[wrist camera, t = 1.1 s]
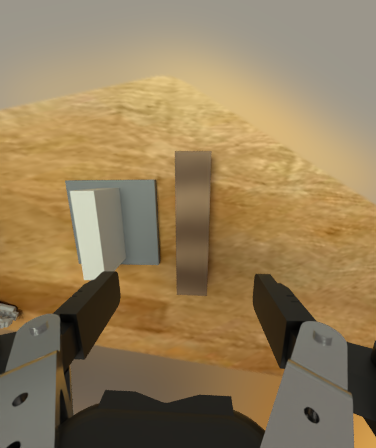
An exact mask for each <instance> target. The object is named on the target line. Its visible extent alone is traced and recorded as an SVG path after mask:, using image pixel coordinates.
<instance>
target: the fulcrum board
mask: <svg viewBox="0 0 376 448" xmlns="http://www.w3.org/2000/svg"><path fill="white" fill-rule="evenodd" d="M65 183H66V189H67V195H68V201H69V207H70V213H71V218H72V224H73V230H74V236H75V242H76V248H77V254H78V260H79V264H82V269H83V275H84V280H94V279H95V278H96V277H97V276H98V275H100V274H101V273H102V272H103V271H115V270H116V269H117V267H118V266H119V265H120V264H134V265H159V263H160V248H159V228H158V209H157V189H156V180H82V181H65Z"/></svg>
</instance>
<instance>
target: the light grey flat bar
mask: <svg viewBox="0 0 376 448" xmlns="http://www.w3.org/2000/svg"><path fill="white" fill-rule="evenodd" d="M16 309H17V308H16V307H14V306H10V305H5V304H1V303H0V328H3V327H8V326H9V325H11V324H12V320H16V319H17V317H18V313H19V312H16ZM1 316H2V317H1Z"/></svg>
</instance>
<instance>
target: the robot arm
mask: <svg viewBox="0 0 376 448" xmlns="http://www.w3.org/2000/svg"><path fill="white" fill-rule="evenodd" d="M119 303H120V286H119V277H118V273H117V272H116V271H103V272H102V273H101V274H100V275H98V276H97V277H96V278H95V279H94V280H91V281H90V282H88V283H86V284H84V285H83V286H82V287H81V288H80V289H79V290H78V292H76V293H74V294H73V295H72V297H70V298H69V299H68V300H67V301H66V302H65V303H64V304H63V305H62V306H61V307H59V308H58V309H57V310H56V311H55V312H54V313H53V314H46V315H42V316H39V317H36V318H34V319H32V320H30V321H29V322H27V323H26V324H24V325H23V326H22V327H21V328H20V329H19V330H18V331H17V332H13V333H8V334H3V335H0V448H354V432H353V413H354V414H357V415H359V416H362V417H363V418H364V419H365V421H366V422H367V424H368V425H369V427H370V428H371V430H372V431H373V433H374V434H375V436H376V341H375V343H374V346H373V349H371V348H368V347H364V346H360V345H356V344H352V343H349V342H346V340H345V339H344V337H343V336H342V335H341V334H340V333H339V332H337V331H336V330H335V329H333V328H331V327H330V326H328V325H325V324H323V323H320V322H317V321H316V320H315V319H314V318H313V317H312V315H311V314H310V313H309V312H308V311H307V309H306V308H305V307H304V306H303V305H302V303H300V301H299V300H298V299H297V298H296V297H295V295H294V294H293V293H292V292H291V290H290V289H289V288H287V287H286V286H284V285H283V284H281V283H277V282H276V281H275V280H274V278H273V277H272V276H271V275H270V274H255V278H254V289H253V306H254V310H255V312H256V315H257V317H258V319H259V321H260V324H261V326H262V328H263V331H264V333H265V335H266V338H267V340H268V342H269V344H270V347H271V349H272V351H273V354H274V356H275V358H276V360H277V363H278V365H279V367H280V368H282V369H285V371H284V374H283V377H282V381H281V384H280V387H279V390H278V393H277V396H276V399H275V402H274V406H273V409H272V412H271V415H270V418H269V421H268V424H267V427H266V431H265V430H264V429H263V428H261V427H260V426H259V425H258V424H257V423H256V422H254V421H253V420H251V419H250V418H248V417H247V416H245V415H243V414H242V413H240V412H237V411H235V410H233V406H232V400H231V396H212V395H197V396H193V397H189V398H185V399H181V400H177V401H173V402H170V403H163V402H160V401H158V400H155V399H153V398H150V397H148V396H145V395H143V394H140V393H137V392H132V391H112V390H105V392H104V394H103V396H102V399H101V401H100V403H99V404H95V405H93V406H90V407H88V408H86V409H84V410H82V411H80V412H78V413H77V414H75V415H73V399H72V382H71V369H70V364H71V363H72V361H73V360H74V359H85V358H86V357H87V355H88V354H89V352H90V350H91V349H92V347H93V346H94V344H95V342H96V341H97V339H98V338H99V336H100V334H101V333H102V331H103V330H104V328H105V326H106V325H107V323H108V322H109V320H110V318H111V317H112V315H113V314H114V312H115V310H116V309H117V307H118V305H119Z"/></svg>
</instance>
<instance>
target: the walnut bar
mask: <svg viewBox="0 0 376 448" xmlns="http://www.w3.org/2000/svg"><path fill="white" fill-rule="evenodd" d="M210 180H211V151H175V195H176V270H177V295H198V296H207V275H208V243H209V211H210Z"/></svg>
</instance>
